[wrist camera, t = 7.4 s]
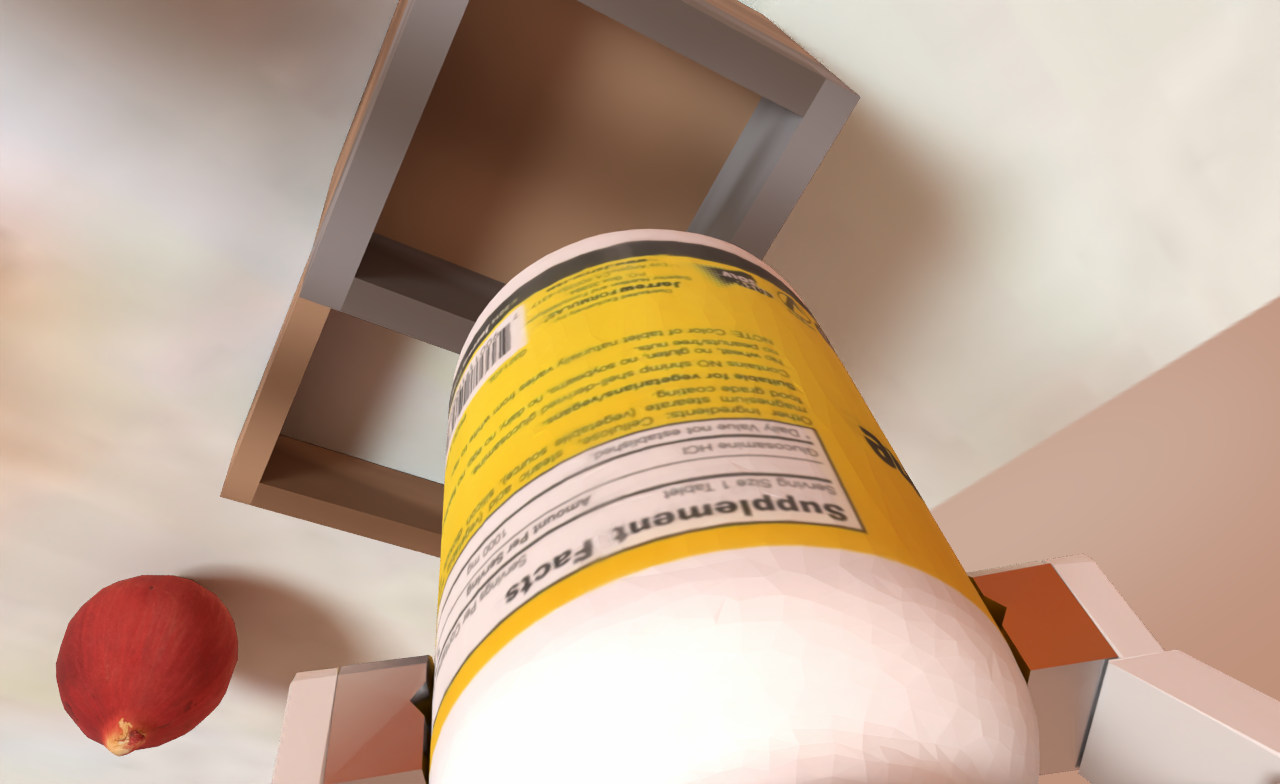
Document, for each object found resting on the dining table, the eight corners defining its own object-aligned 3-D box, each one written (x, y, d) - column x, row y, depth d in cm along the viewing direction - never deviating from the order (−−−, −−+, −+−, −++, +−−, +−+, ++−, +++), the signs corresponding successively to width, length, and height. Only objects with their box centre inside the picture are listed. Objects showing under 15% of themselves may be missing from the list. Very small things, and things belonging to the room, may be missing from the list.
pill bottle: (815, 507, 19) (1135, 1243, 10) (481, 552, 18) (477, 1369, 9) (828, 190, 15) (1340, 851, 6) (418, 235, 15) (312, 1023, 6)
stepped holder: (487, 520, 40) (496, 697, 33) (228, 443, 36) (171, 622, 29) (762, 14, 31) (860, 97, 24) (458, -154, 28) (461, -119, 20)
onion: (227, 654, 42) (185, 826, 35) (76, 620, 40) (0, 797, 33) (271, 551, 39) (235, 715, 33) (113, 510, 37) (39, 676, 31)
